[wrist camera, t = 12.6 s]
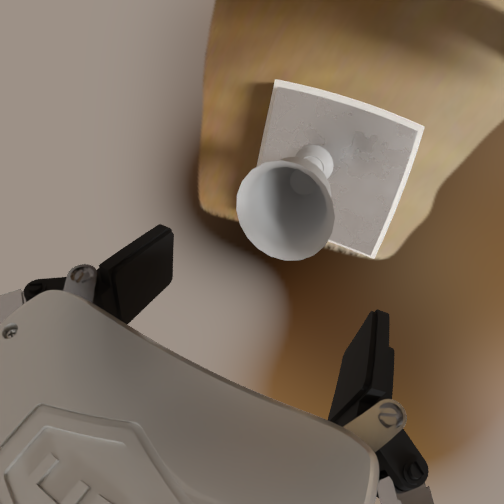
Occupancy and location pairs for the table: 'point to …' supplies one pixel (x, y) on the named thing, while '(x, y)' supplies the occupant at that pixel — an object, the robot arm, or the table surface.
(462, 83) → the table surface
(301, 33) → the table surface
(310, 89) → the base
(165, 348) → the robot arm
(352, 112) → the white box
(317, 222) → the chalice
